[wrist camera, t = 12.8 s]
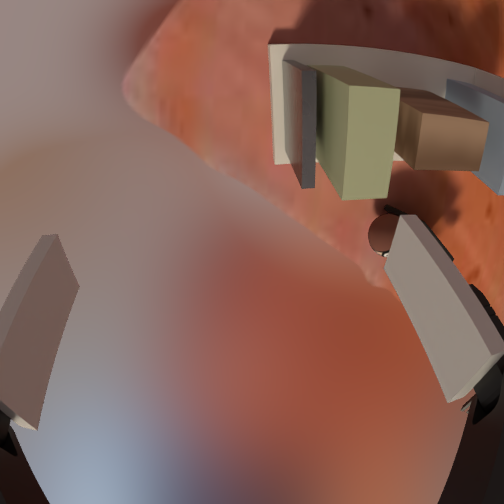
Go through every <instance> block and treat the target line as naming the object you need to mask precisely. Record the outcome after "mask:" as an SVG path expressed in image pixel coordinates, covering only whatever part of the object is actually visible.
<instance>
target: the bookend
mask: <svg viewBox="0 0 504 504" xmlns="http://www.w3.org/2000/svg"><path fill="white" fill-rule="evenodd" d="M282 71H283V97H284V131H285V152H286V154H287V156H288V158H289V161H290V163H291V165H292V167H293V170H294V172H295V174H296V177H297V179H298V181H299V183H300V186H301V188H302V189H306V188H315V162H316V107H317V84H316V70H314V69H312V68H310V67H308V66H306V65H303V64H301V63H299V62H297V61H295V60H282Z"/></svg>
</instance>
